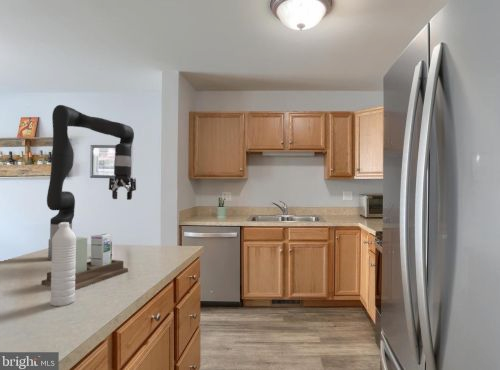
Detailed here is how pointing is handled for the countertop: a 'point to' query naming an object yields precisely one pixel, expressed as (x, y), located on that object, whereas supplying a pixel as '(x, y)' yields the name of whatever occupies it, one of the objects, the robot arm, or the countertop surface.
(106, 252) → the syrup box
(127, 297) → the countertop surface
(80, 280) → the brown wooden tray
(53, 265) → the water bottle
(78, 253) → the sage block
